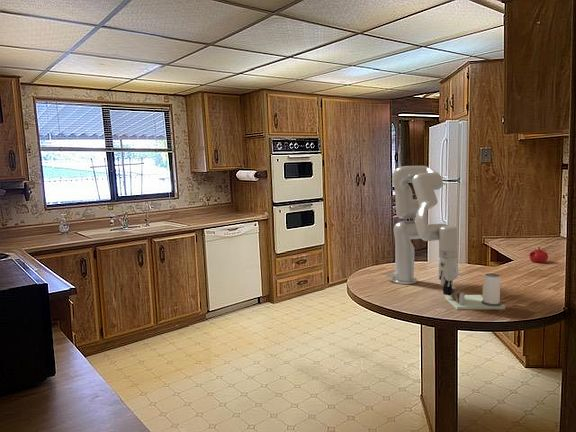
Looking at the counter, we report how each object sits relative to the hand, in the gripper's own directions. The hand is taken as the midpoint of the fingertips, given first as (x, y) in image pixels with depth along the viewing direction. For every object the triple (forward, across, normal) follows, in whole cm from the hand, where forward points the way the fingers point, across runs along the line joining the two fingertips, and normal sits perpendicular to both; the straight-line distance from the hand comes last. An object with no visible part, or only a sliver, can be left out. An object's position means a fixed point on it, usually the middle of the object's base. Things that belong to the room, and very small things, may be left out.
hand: (447, 294), depth 195 cm
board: (+3, +5, -10) cm, 11 cm away
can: (+2, +6, -16) cm, 18 cm away
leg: (+2, +2, -3) cm, 4 cm away
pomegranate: (+3, +106, -6) cm, 106 cm away
